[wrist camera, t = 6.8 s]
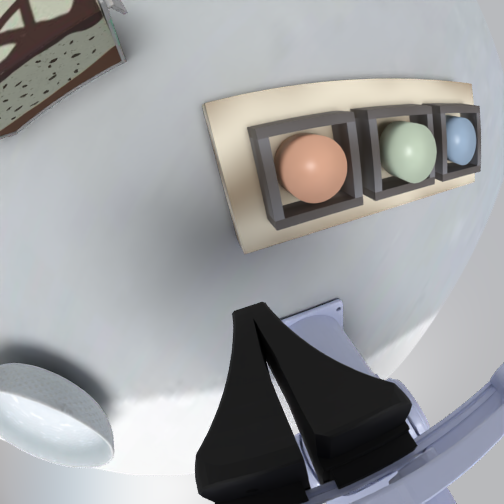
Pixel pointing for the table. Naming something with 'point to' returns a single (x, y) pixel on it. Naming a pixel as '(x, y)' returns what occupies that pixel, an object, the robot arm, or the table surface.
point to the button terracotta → (311, 167)
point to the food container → (51, 53)
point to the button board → (349, 139)
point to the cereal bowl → (52, 418)
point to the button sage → (407, 151)
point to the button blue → (460, 139)
